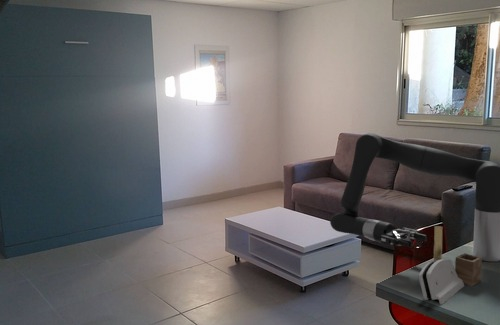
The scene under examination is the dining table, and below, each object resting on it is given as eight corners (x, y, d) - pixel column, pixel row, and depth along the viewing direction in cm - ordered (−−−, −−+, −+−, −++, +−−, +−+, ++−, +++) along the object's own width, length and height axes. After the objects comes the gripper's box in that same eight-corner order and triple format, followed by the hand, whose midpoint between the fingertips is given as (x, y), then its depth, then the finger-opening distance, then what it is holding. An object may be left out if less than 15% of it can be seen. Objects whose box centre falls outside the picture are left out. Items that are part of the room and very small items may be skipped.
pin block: (463, 275, 144) (464, 253, 143) (480, 281, 140) (481, 257, 139) (454, 280, 141) (455, 257, 140) (472, 286, 137) (473, 262, 136)
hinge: (441, 304, 126) (430, 269, 127) (425, 305, 129) (414, 270, 130) (464, 285, 137) (454, 253, 138) (449, 286, 141) (439, 254, 142)
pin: (435, 269, 150) (437, 225, 148) (442, 271, 148) (444, 227, 146) (431, 271, 149) (433, 227, 146) (438, 273, 147) (440, 228, 144)
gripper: (366, 225, 160) (407, 235, 148) (390, 217, 169) (431, 226, 156) (366, 245, 161) (406, 257, 149) (390, 236, 170) (430, 247, 157)
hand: (419, 241), depth 152 cm, fingers open, 8 cm apart
